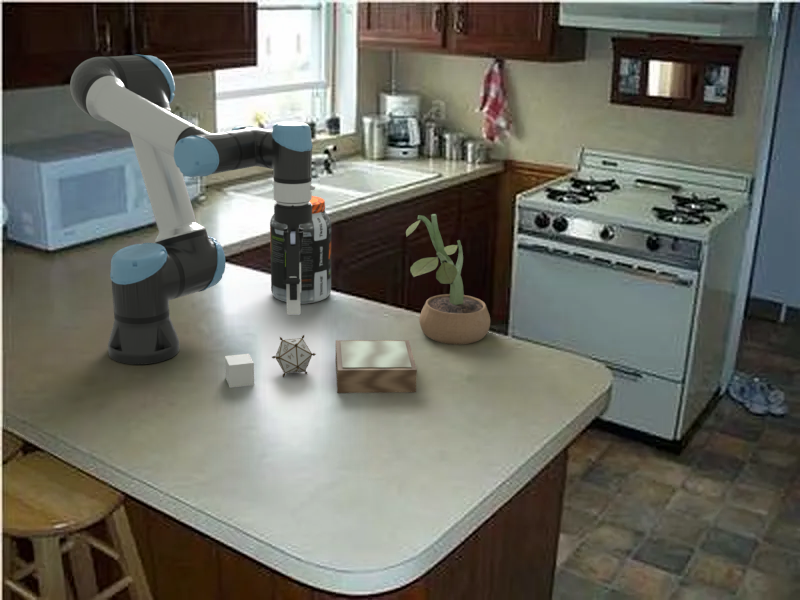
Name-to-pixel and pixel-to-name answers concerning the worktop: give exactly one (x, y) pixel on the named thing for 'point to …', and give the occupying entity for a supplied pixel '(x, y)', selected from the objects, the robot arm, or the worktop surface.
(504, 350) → the worktop surface
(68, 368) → the worktop surface
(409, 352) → the walnut framed mirror
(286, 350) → the game die
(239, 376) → the grey block
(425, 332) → the potted plant
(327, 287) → the supplement tub
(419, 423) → the worktop surface
